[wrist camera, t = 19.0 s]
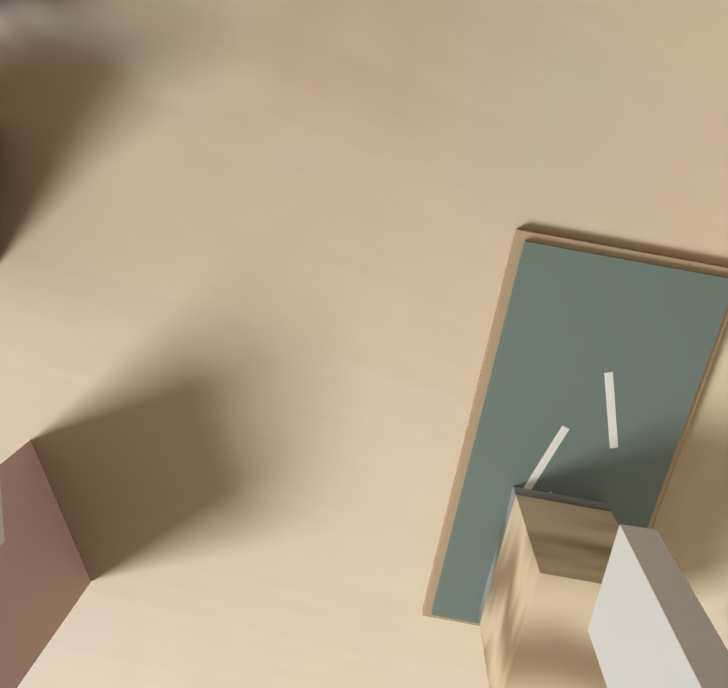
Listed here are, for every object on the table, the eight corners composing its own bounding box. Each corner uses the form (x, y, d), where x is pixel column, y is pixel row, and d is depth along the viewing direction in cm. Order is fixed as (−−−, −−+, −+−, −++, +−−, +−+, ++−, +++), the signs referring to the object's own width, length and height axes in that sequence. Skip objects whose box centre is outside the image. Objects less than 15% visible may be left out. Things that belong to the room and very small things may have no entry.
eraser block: (513, 486, 41) (539, 573, 33) (606, 503, 41) (656, 593, 33) (477, 613, 44) (494, 720, 36) (564, 629, 44) (600, 739, 36)
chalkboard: (516, 228, 37) (519, 231, 36) (740, 269, 37) (749, 273, 36) (422, 609, 46) (423, 619, 45) (605, 642, 46) (609, 653, 45)
